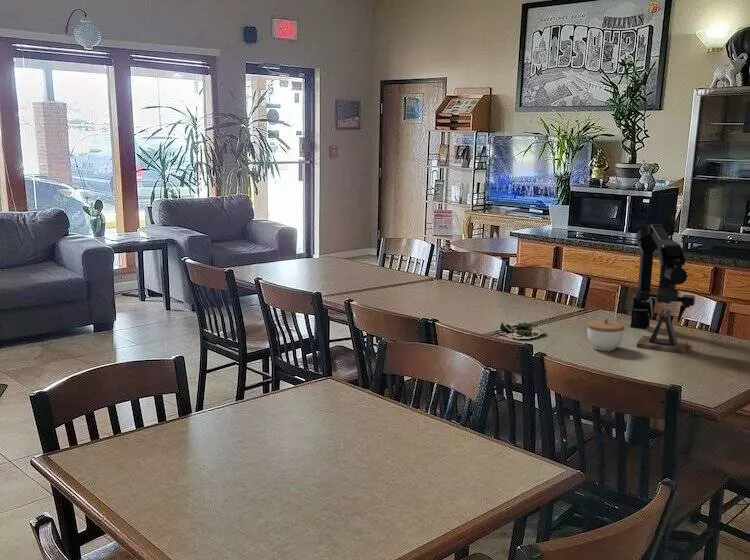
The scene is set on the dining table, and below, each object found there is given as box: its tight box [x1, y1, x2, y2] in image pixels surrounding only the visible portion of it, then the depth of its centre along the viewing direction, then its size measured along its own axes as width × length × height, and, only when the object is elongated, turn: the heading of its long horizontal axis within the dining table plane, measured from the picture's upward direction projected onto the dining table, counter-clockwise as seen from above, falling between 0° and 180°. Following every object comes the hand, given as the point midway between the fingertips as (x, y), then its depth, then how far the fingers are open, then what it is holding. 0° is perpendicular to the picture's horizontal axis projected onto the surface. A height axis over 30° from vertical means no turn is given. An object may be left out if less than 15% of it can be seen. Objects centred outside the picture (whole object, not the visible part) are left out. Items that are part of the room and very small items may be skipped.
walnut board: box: [636, 335, 689, 355], centre depth 258 cm, size 16×12×2 cm
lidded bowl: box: [587, 318, 625, 352], centre depth 255 cm, size 13×13×11 cm
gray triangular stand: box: [649, 308, 678, 346], centre depth 257 cm, size 9×6×12 cm, turn 60°
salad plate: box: [500, 321, 546, 337], centre depth 276 cm, size 19×18×5 cm
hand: (664, 321), depth 256 cm, fingers open, 9 cm apart
